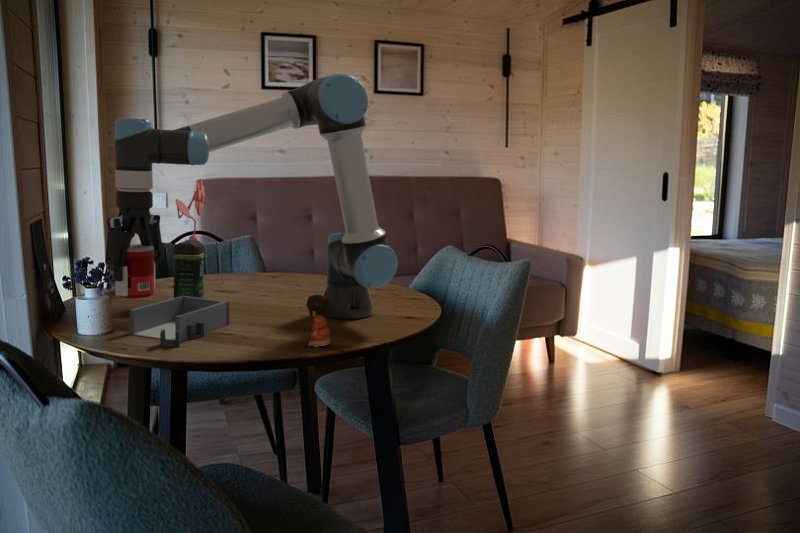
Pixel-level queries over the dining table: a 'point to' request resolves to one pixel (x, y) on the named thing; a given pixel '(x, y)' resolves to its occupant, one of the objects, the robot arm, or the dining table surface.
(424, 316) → the dining table surface
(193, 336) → the clip
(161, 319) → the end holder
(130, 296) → the canned food
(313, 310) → the figurine
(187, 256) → the coffee jar
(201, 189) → the pink flower
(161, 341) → the clip
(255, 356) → the dining table surface
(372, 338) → the dining table surface
